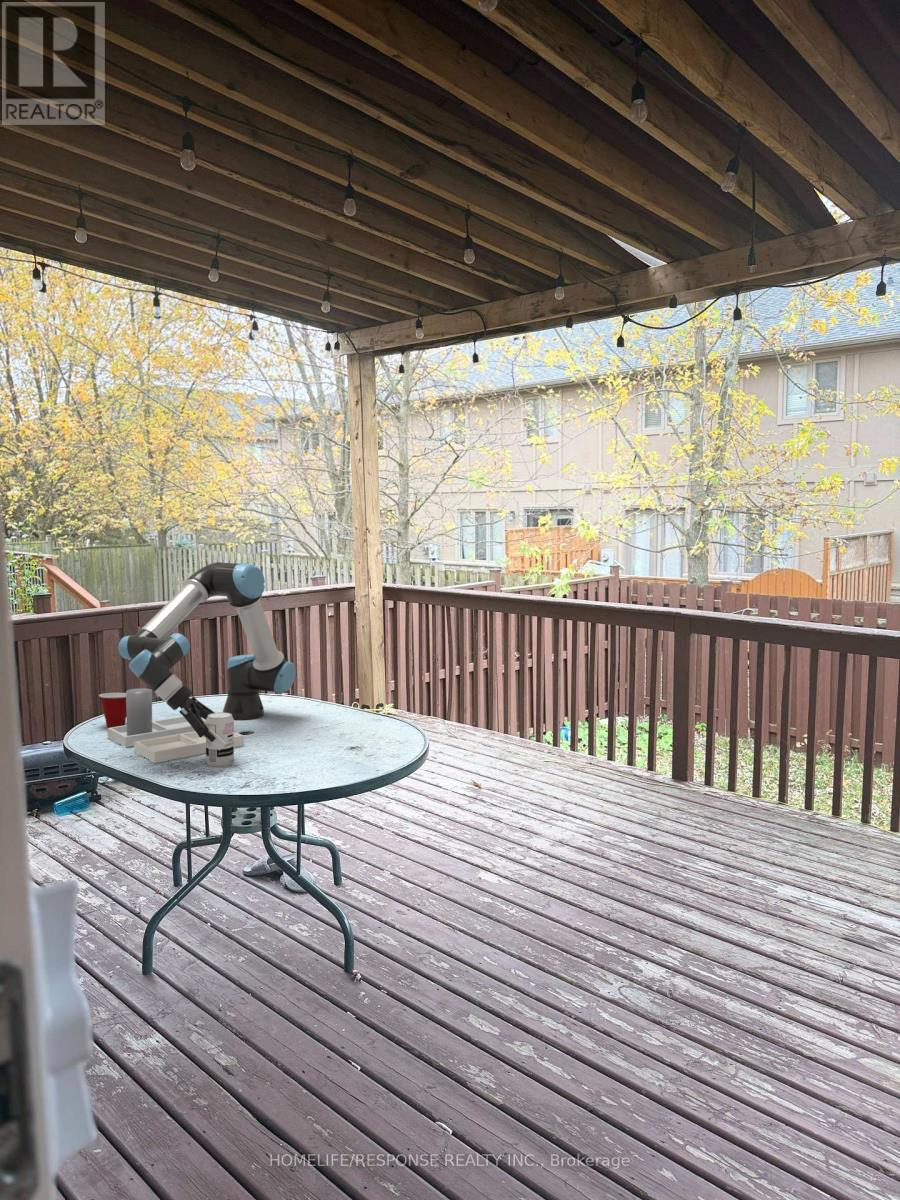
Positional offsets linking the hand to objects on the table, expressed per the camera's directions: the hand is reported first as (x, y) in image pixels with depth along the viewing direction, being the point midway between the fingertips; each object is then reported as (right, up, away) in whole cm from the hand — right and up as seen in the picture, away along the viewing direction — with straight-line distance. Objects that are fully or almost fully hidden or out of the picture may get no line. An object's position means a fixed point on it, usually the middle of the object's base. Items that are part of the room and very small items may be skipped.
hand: (226, 741), depth 242 cm
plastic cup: (-51, -2, +41) cm, 65 cm away
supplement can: (-2, -7, 0) cm, 7 cm away
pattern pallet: (-31, -3, +31) cm, 44 cm away
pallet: (-16, -5, +15) cm, 22 cm away
